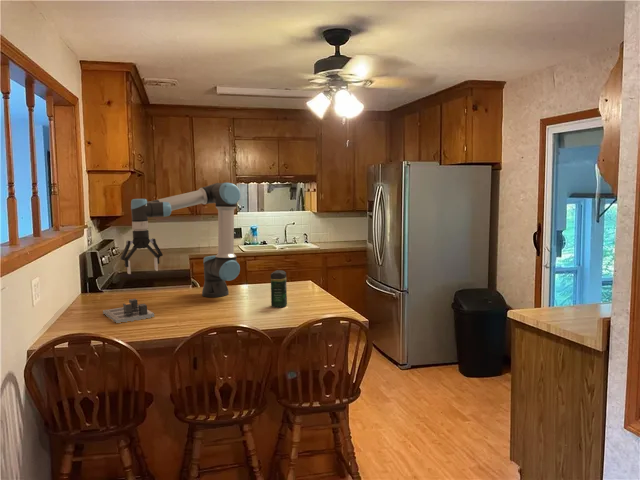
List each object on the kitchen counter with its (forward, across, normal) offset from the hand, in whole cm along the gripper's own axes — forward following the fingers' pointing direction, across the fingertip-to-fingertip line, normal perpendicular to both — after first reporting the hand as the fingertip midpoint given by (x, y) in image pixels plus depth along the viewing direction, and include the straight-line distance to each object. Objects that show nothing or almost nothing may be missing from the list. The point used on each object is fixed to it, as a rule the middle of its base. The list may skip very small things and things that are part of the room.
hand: (142, 272), depth 256 cm
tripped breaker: (+19, -8, +1) cm, 21 cm away
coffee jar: (+21, +59, -34) cm, 71 cm away
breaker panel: (+21, -8, +1) cm, 23 cm away
